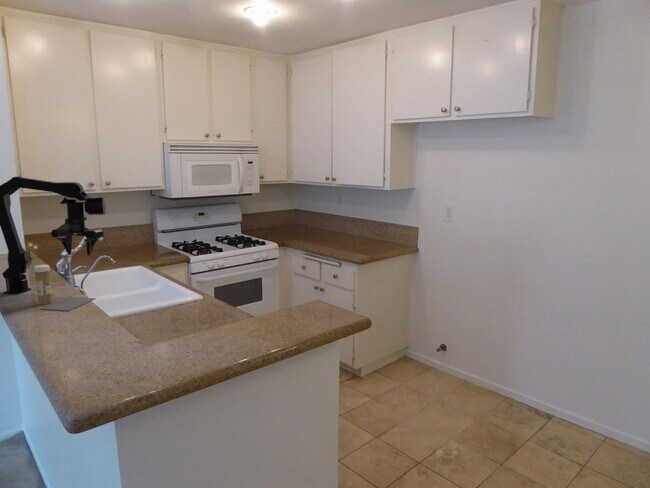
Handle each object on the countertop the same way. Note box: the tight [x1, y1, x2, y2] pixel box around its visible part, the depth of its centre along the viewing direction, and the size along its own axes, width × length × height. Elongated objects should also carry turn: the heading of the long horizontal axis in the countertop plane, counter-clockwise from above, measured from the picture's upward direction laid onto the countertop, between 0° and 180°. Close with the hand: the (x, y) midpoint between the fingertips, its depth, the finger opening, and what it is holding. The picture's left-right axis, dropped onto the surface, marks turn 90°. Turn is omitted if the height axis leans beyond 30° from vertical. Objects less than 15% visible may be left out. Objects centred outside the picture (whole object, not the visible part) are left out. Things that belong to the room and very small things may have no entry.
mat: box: [39, 296, 97, 312], centre depth 162 cm, size 11×14×1 cm
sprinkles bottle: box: [33, 264, 54, 305], centre depth 162 cm, size 5×5×13 cm
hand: (79, 255), depth 181 cm, fingers open, 8 cm apart
